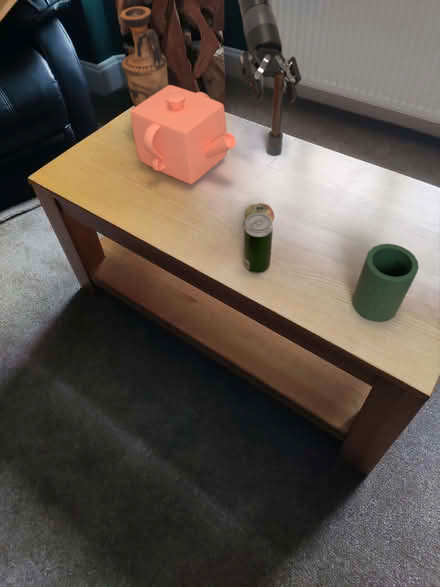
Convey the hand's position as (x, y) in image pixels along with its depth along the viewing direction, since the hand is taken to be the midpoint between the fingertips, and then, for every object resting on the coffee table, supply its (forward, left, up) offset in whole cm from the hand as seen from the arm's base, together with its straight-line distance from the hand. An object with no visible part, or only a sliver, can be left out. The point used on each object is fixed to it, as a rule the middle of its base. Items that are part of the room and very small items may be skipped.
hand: (277, 99), depth 96 cm
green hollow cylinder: (+5, +47, -17) cm, 50 cm away
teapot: (+18, -8, -17) cm, 26 cm away
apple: (+14, +19, -17) cm, 29 cm away
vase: (+21, -27, -17) cm, 38 cm away
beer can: (+20, +28, -17) cm, 38 cm away
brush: (-3, -4, -17) cm, 17 cm away
